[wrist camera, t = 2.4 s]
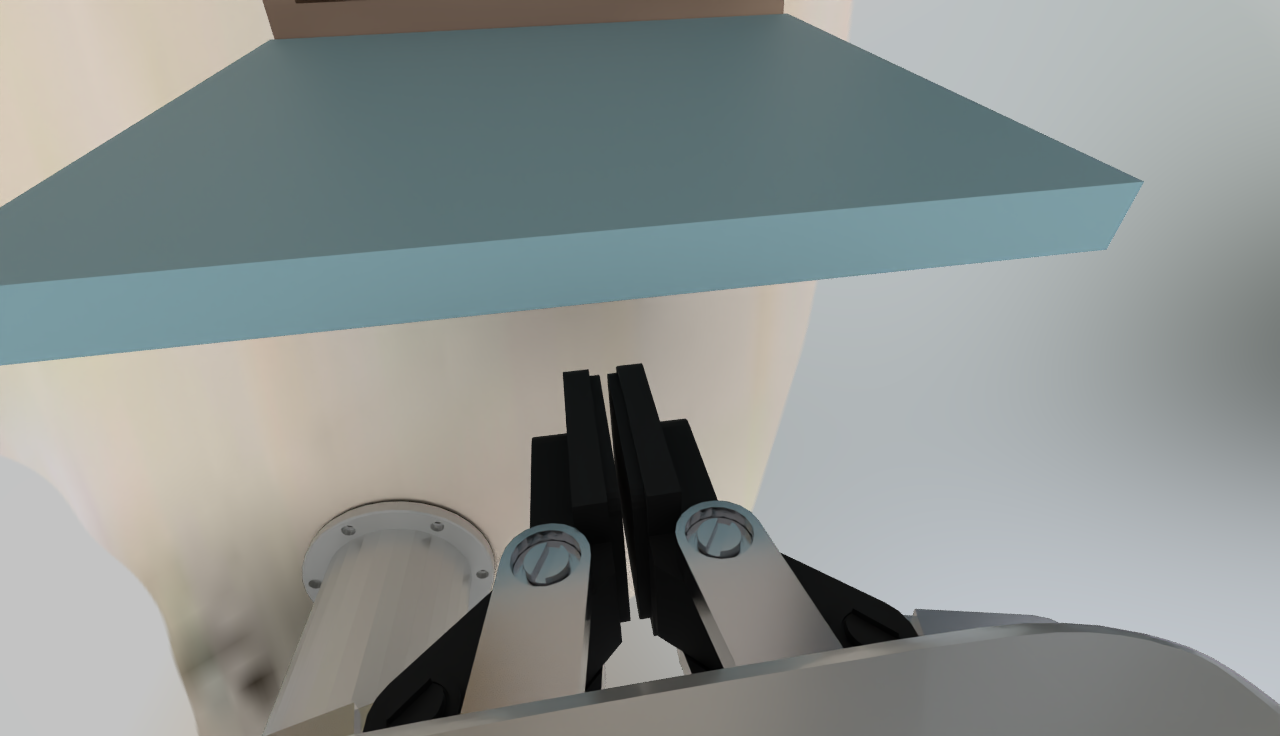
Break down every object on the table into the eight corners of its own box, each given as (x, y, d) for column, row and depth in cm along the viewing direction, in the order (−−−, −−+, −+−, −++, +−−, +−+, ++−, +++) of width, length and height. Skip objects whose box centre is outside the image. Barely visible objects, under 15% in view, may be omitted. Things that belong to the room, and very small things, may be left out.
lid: (787, 13, 21) (782, 50, 22) (270, 39, 19) (285, 78, 20) (1143, 181, 9) (1106, 248, 10) (-148, 298, 7) (-70, 373, 8)
